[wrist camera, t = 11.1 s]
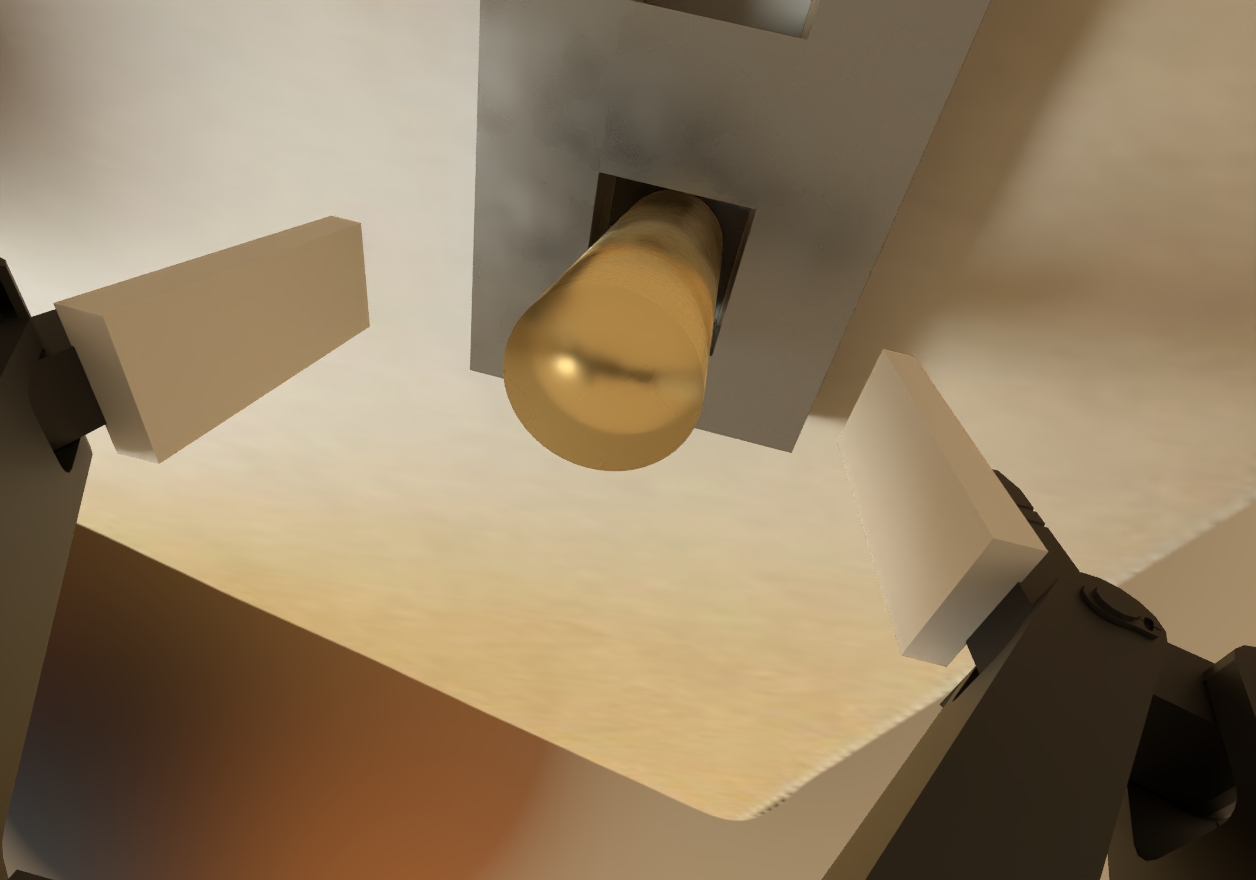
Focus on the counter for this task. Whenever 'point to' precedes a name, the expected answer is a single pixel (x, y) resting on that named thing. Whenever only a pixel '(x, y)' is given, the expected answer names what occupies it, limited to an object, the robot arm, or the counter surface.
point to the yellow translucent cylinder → (622, 339)
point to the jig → (710, 166)
